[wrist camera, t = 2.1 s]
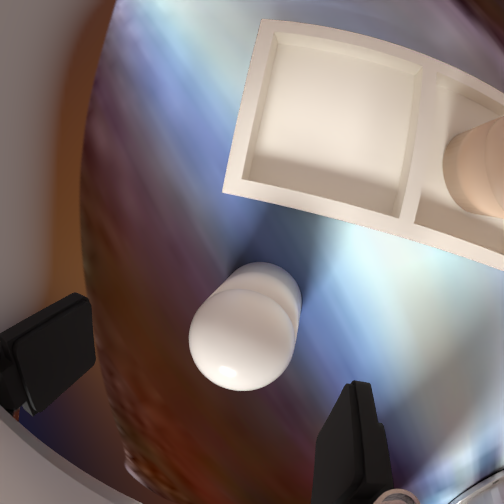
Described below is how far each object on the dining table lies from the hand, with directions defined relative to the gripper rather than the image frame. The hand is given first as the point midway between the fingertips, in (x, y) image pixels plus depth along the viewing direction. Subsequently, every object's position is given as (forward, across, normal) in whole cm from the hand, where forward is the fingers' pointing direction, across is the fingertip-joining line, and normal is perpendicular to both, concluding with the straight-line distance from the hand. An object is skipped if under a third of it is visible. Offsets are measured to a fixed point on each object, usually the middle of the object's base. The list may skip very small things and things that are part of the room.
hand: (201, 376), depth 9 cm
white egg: (+8, -1, 0) cm, 8 cm away
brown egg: (+7, -11, -10) cm, 16 cm away
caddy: (+8, -7, -10) cm, 15 cm away
